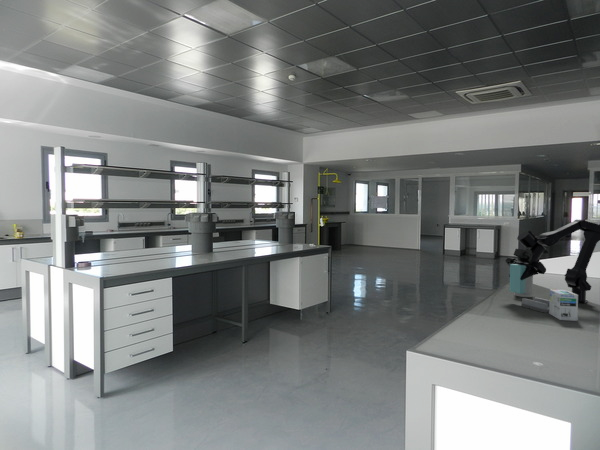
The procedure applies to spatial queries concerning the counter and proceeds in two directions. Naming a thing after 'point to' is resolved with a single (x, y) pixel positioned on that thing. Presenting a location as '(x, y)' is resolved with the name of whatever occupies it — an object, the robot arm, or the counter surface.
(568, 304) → the light bulb box
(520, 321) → the counter surface
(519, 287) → the teal rectangular block
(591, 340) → the counter surface
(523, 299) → the floor track
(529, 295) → the glass holder
